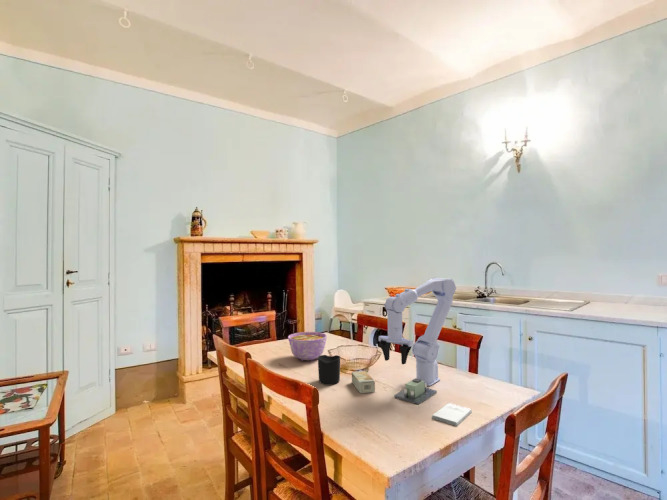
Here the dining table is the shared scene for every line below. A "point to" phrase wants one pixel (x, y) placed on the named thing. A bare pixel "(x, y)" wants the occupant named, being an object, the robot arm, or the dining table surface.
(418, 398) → the plate
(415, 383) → the green block
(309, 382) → the dining table surface
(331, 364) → the pen holder
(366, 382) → the skincare box
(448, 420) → the external hard drive
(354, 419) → the dining table surface
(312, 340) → the bowl of food
